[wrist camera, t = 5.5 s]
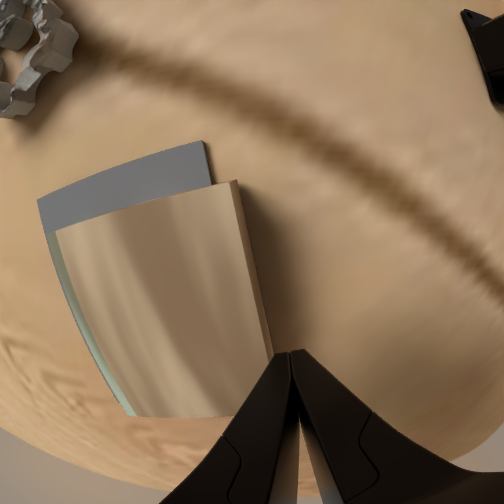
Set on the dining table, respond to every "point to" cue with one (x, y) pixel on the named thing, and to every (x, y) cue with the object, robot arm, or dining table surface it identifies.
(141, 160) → the rubber mat
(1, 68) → the egg carton
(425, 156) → the dining table surface
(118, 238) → the oak slab
